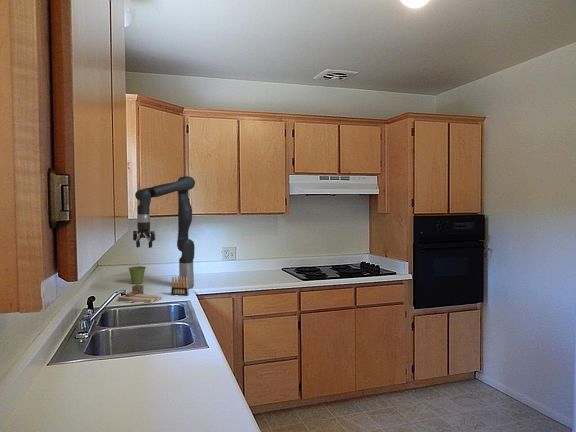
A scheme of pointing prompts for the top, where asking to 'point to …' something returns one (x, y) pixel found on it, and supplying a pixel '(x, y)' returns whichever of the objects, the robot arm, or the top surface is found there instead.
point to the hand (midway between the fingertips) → (144, 247)
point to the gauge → (136, 290)
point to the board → (140, 298)
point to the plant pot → (137, 274)
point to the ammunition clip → (179, 287)
